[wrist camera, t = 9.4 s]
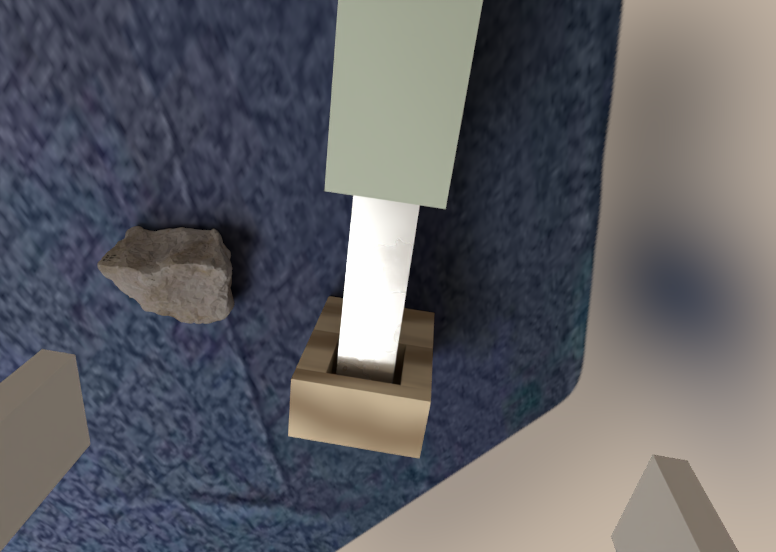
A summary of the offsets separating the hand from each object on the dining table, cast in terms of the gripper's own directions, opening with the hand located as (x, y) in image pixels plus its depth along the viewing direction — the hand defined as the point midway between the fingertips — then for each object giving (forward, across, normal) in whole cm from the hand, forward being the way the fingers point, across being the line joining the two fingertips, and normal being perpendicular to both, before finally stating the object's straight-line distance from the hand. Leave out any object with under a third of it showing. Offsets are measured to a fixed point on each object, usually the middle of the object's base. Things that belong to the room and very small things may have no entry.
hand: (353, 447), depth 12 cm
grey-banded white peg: (+23, -1, -6) cm, 24 cm away
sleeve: (+29, -1, +5) cm, 29 cm away
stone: (+29, -17, -12) cm, 36 cm away
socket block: (+28, -1, -15) cm, 32 cm away
